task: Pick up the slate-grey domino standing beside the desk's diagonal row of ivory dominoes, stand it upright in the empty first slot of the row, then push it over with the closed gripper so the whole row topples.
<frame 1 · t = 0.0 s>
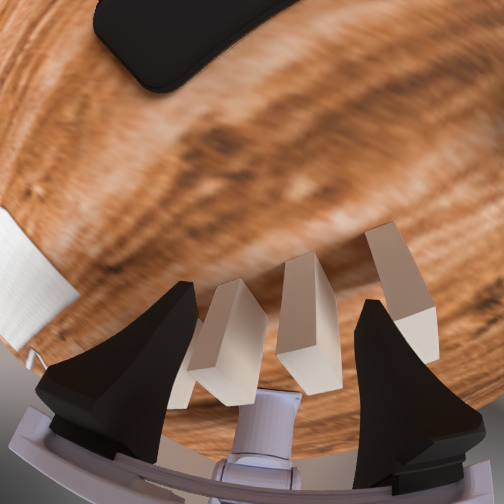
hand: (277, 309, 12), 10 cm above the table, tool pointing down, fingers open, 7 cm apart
domino 4: (312, 279, 24), on the table
domino 5: (387, 252, 21), on the table
domino 2: (188, 318, 28), on the table
domino 3: (243, 302, 26), on the table
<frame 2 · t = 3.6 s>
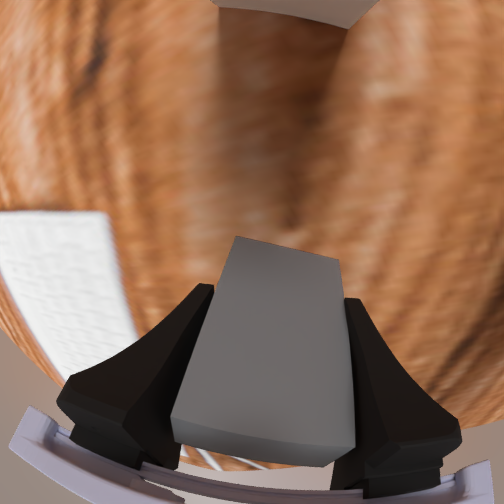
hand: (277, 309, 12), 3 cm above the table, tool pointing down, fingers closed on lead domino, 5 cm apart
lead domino: (282, 267, 14), on the table, touching gripper
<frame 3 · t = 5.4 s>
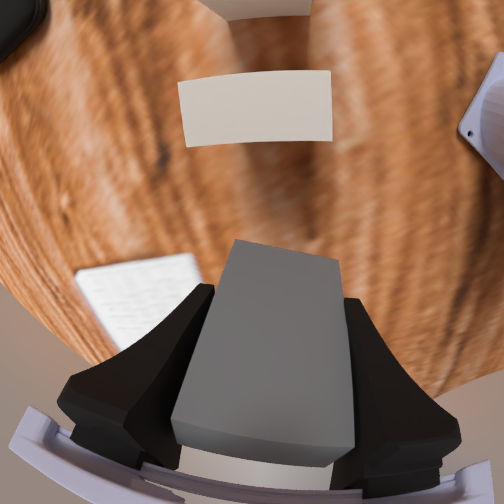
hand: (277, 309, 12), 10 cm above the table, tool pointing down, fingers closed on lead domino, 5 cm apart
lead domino: (282, 269, 15), point 7 cm above the table, touching gripper
domino 2: (274, 94, 16), on the table
domino 3: (266, 0, 13), on the table
when the fingers open (3 cm above the table, at t = 7.7 s): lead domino stays where it is, on the table.
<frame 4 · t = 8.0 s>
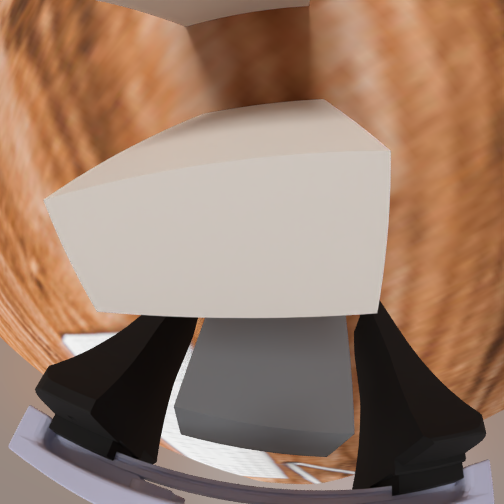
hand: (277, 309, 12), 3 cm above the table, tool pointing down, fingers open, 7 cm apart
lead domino: (282, 264, 15), on the table
domino 2: (265, 132, 11), on the table
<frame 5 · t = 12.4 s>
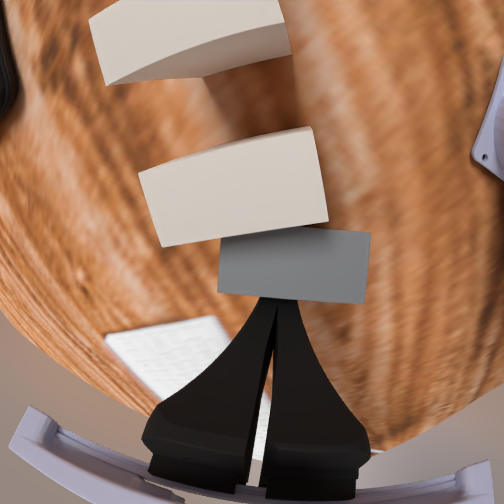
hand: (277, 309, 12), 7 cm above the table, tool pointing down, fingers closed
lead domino: (292, 254, 19), point 1 cm above the table, tilted 32°
domino 2: (269, 154, 16), on the table, tilted 8°
domino 3: (240, 45, 13), on the table
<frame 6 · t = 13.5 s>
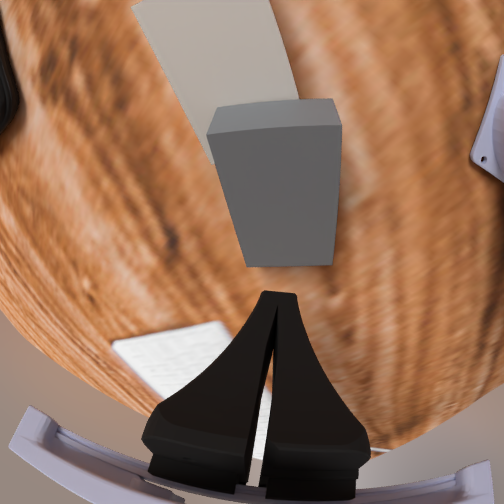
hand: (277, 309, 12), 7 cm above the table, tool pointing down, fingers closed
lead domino: (289, 249, 18), point 1 cm above the table, tilted 69°
domino 2: (259, 140, 14), point 1 cm above the table, tilted 69°, touching domino 3
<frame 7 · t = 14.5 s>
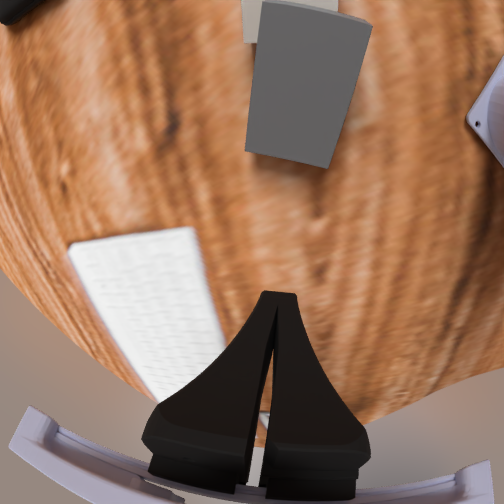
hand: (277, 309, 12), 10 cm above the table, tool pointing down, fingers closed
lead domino: (288, 148, 17), point 1 cm above the table, tilted 70°, touching domino 2
domino 2: (290, 39, 13), point 1 cm above the table, tilted 69°, touching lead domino
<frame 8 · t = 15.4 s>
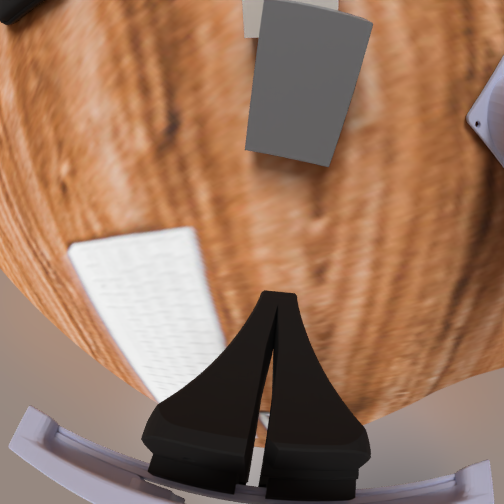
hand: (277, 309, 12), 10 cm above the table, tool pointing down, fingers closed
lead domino: (288, 147, 17), point 1 cm above the table, tilted 71°, touching domino 2
domino 2: (290, 35, 13), point 1 cm above the table, tilted 70°, touching domino 3, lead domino
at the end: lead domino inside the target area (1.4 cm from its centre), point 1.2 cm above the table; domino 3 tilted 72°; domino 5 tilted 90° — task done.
